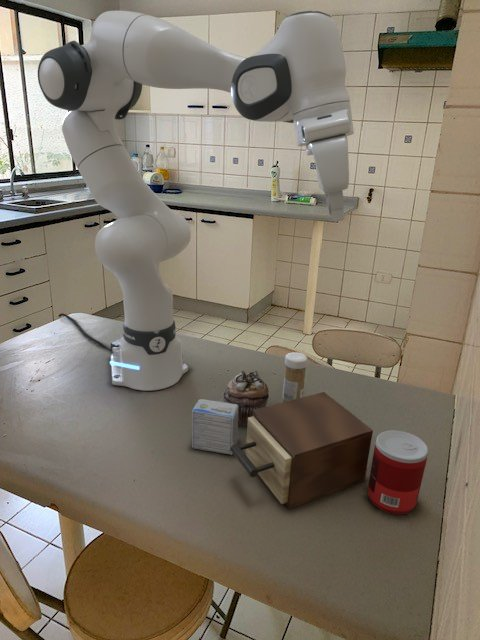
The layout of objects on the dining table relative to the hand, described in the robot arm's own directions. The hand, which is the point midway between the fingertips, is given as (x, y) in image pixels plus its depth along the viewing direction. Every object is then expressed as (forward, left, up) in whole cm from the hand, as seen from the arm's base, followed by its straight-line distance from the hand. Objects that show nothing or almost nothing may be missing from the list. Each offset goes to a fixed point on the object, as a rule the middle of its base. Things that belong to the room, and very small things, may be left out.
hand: (336, 217), depth 76 cm
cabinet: (+7, -7, -43) cm, 45 cm away
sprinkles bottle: (-10, +1, -44) cm, 45 cm away
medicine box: (-6, -19, -44) cm, 48 cm away
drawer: (+7, -11, -43) cm, 44 cm away
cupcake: (-13, -9, -44) cm, 46 cm away
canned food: (+19, +2, -44) cm, 48 cm away
